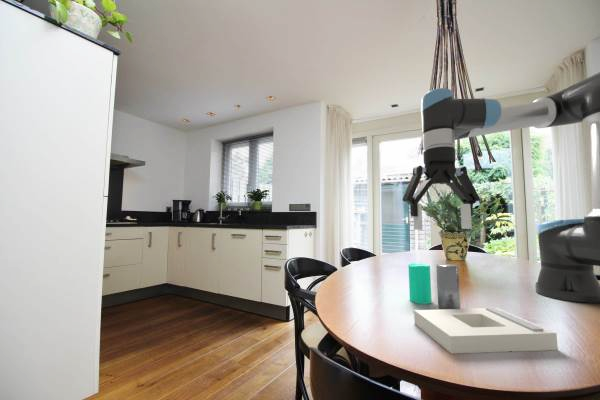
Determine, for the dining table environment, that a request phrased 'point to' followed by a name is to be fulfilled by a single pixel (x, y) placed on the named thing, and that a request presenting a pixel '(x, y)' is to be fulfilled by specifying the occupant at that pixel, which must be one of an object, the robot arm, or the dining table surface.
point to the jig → (483, 331)
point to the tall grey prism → (448, 286)
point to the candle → (420, 283)
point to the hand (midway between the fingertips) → (442, 229)
